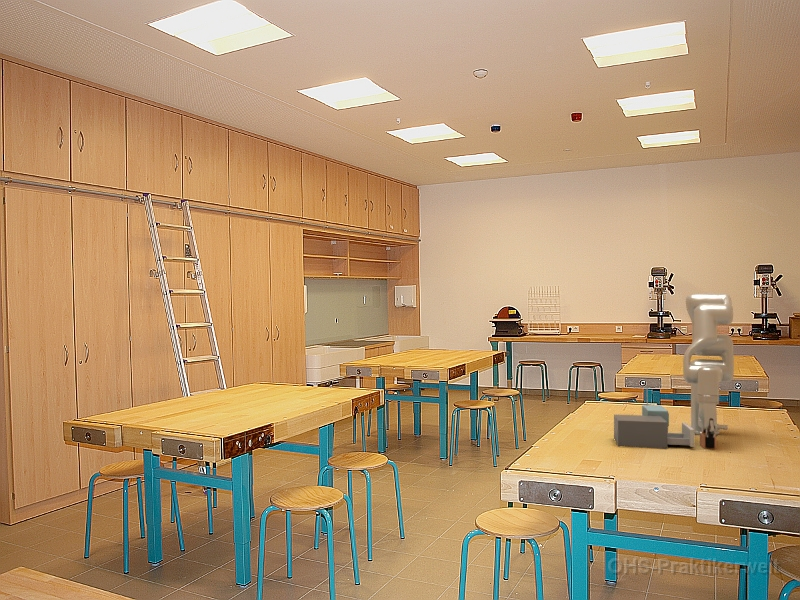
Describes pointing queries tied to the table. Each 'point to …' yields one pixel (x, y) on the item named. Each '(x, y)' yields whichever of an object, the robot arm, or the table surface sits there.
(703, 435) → the block
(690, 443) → the light grey drawer
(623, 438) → the housing
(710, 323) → the robot arm
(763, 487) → the table surface
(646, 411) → the radio
